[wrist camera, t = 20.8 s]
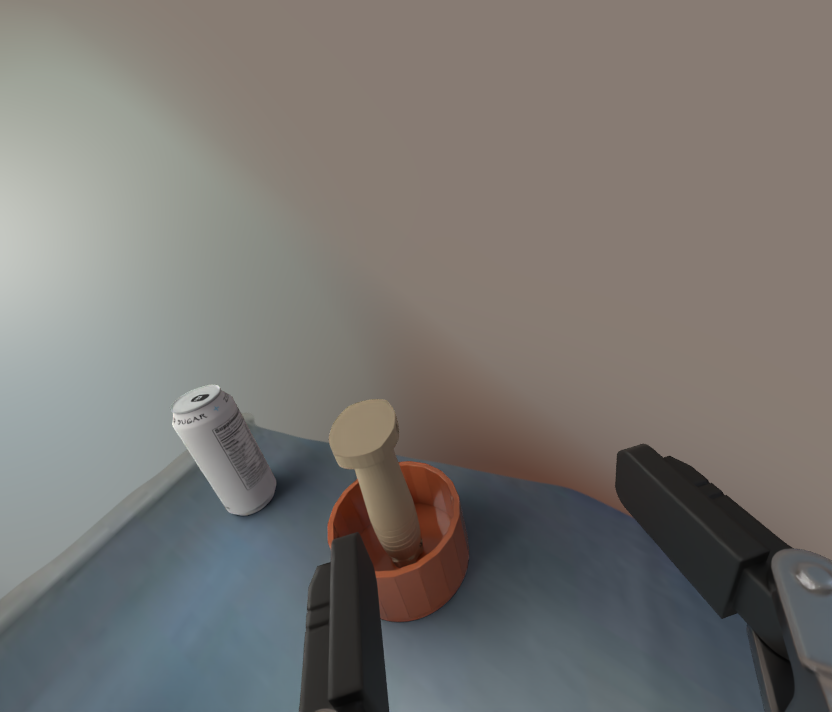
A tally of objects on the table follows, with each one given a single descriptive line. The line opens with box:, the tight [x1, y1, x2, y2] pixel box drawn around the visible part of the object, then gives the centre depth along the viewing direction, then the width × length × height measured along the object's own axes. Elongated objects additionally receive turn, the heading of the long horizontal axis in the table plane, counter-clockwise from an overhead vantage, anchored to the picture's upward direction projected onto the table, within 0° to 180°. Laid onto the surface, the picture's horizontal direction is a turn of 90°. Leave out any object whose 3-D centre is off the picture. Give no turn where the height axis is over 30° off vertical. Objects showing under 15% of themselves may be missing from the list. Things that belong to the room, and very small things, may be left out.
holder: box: [328, 461, 469, 622], centre depth 33 cm, size 11×11×6 cm
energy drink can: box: [171, 385, 276, 516], centre depth 41 cm, size 6×6×15 cm
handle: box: [329, 399, 423, 568], centre depth 30 cm, size 5×6×15 cm
